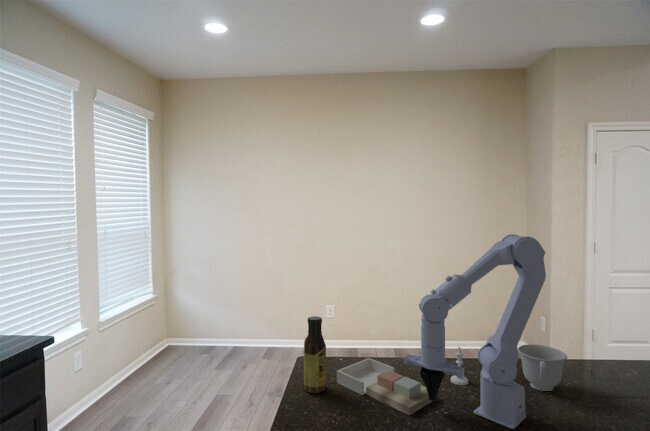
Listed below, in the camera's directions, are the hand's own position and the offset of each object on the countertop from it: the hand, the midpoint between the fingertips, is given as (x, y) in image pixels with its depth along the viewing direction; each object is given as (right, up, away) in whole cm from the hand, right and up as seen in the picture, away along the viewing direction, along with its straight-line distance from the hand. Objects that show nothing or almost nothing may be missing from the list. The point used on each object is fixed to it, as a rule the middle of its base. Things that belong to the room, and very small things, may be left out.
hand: (433, 398), depth 92 cm
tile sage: (-5, -1, +6) cm, 8 cm away
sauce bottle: (-30, -3, +12) cm, 32 cm away
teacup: (+33, -3, +11) cm, 35 cm away
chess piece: (+12, -3, +16) cm, 21 cm away
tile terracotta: (-9, -1, +10) cm, 13 cm away
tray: (-15, -3, +17) cm, 22 cm away
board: (-7, -3, +7) cm, 10 cm away
